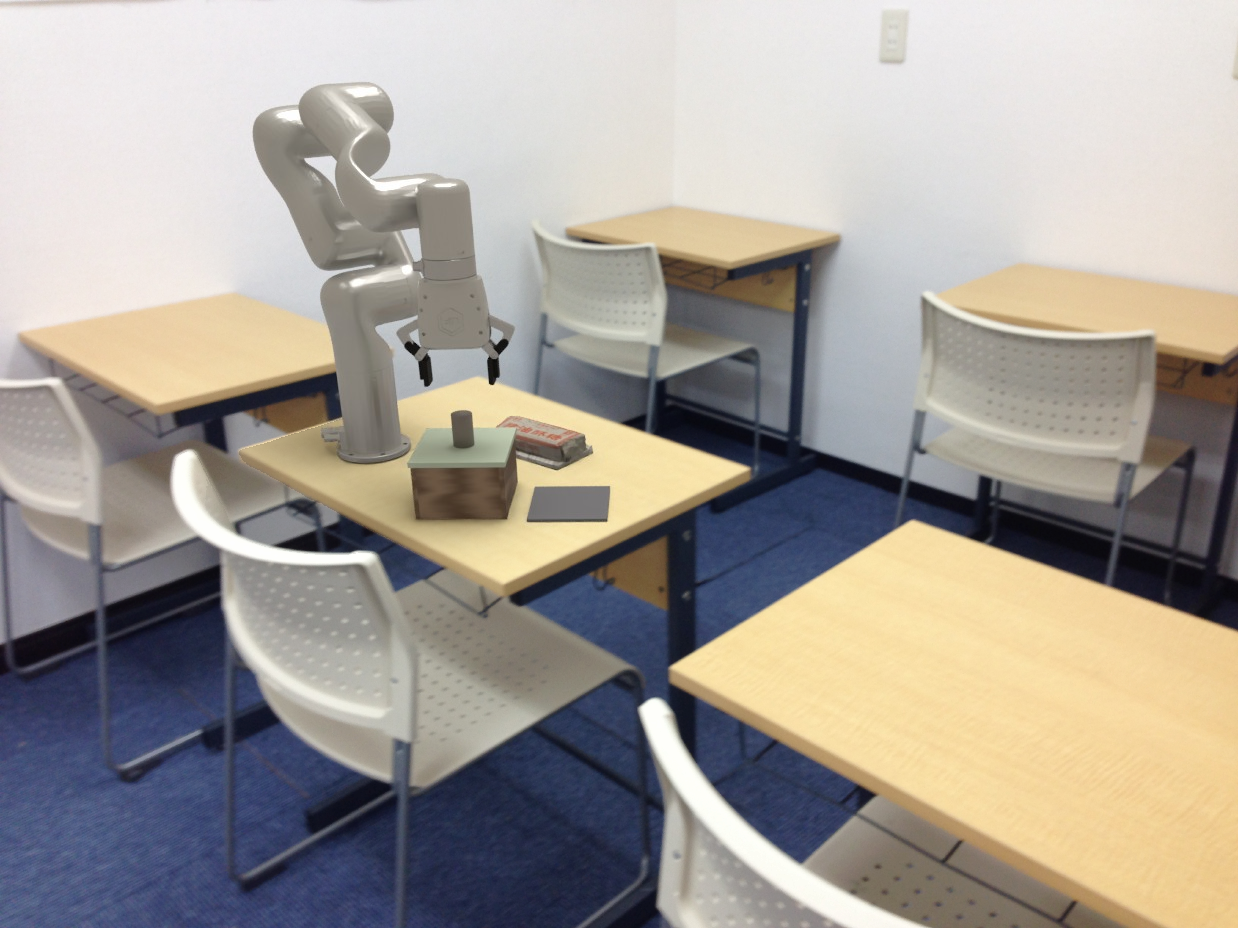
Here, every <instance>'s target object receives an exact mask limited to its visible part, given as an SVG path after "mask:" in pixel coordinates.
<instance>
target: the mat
mask: <svg viewBox="0 0 1238 928" xmlns="http://www.w3.org/2000/svg"><path fill="white" fill-rule="evenodd" d="M610 494H611V486H610V485H580V486H579V485H573V486H572V485H571V486H567V485H566V486H565V485H563V486H559V485H558V486H556V485H555V486H554V485H553V486H552V485H551V486H550V485H548V486H534V488H533V492H532V497H531V499H530V500H531V501H530V504H529V509H528V512H527V517H526V523H528V522H529V523H531V522H533V523H536V522H537V523H538V522H539V523H542V522H543V523H544V522H545V523H546V522H547V523H550V522H551V523H552V522H561V523H562V522H565V523H566V522H567V523H569V522H571V523H572V522H575V523H576V522H577V523H578V522H608V517H609V516H608V515H609V506H610Z"/></svg>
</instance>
